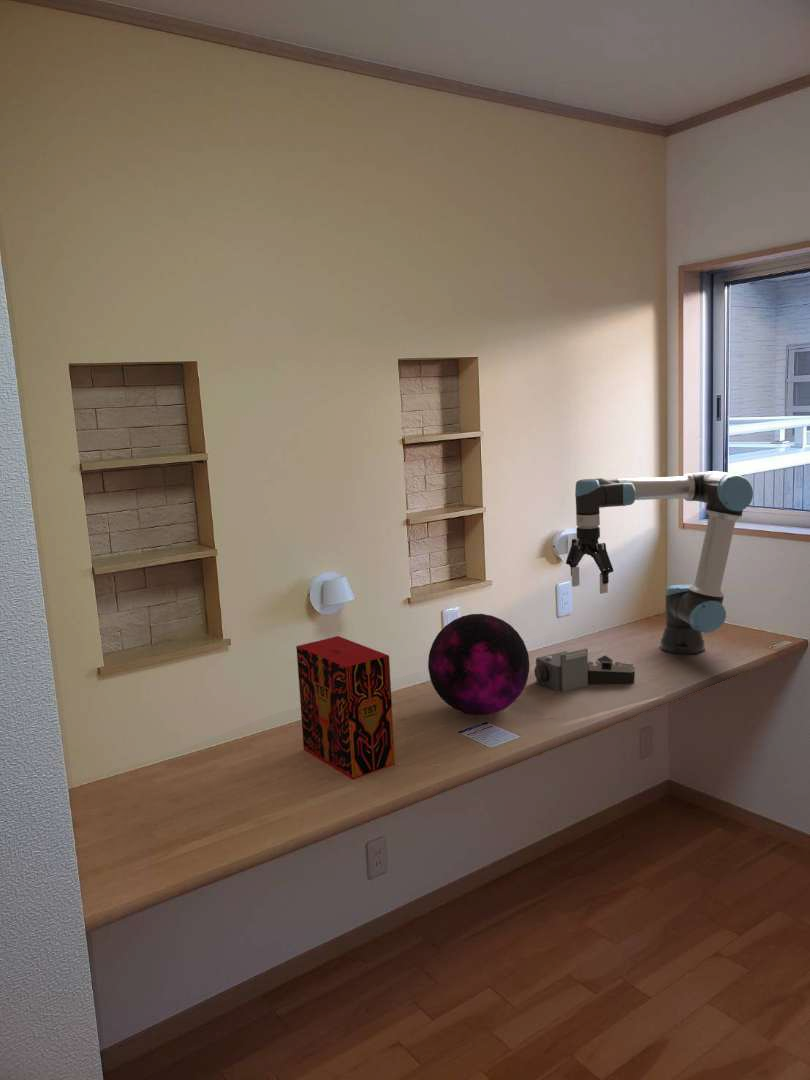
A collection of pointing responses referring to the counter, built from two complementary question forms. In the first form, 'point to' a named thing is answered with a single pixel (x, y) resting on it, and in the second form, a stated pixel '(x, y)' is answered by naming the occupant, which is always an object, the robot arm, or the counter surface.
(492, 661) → the purple mottled sphere
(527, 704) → the counter surface
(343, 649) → the box
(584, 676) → the side door
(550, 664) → the box
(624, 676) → the camera
